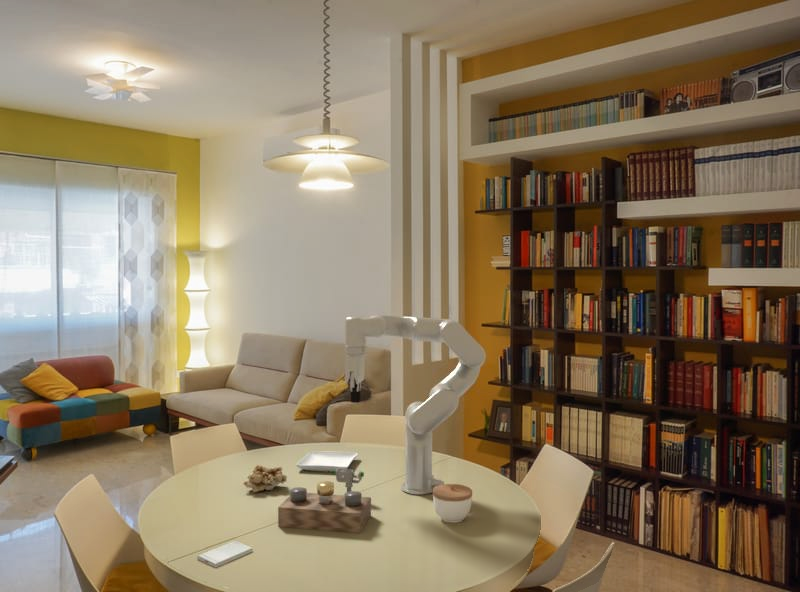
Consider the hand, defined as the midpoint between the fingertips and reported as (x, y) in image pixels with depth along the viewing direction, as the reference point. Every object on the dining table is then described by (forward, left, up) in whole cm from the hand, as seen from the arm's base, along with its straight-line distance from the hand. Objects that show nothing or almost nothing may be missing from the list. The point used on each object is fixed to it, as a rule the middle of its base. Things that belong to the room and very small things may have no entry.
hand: (355, 402), depth 226 cm
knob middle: (+2, +29, -28) cm, 40 cm away
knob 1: (+11, +29, -31) cm, 44 cm away
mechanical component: (0, +9, -32) cm, 34 cm away
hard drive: (+22, +58, -33) cm, 70 cm away
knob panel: (+2, +29, -32) cm, 43 cm away
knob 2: (-7, +29, -31) cm, 43 cm away
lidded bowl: (-37, +19, -32) cm, 53 cm away
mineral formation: (+32, +4, -32) cm, 46 cm away
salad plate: (+19, -27, -33) cm, 46 cm away
